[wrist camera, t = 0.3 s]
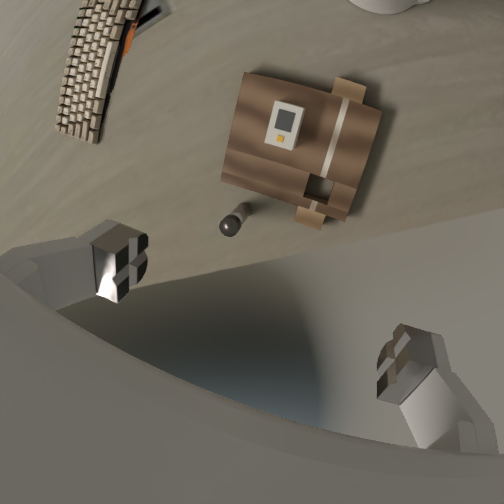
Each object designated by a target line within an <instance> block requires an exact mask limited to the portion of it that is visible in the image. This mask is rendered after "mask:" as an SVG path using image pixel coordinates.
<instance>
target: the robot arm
mask: <svg viewBox="0 0 504 504" xmlns="http://www.w3.org/2000/svg"><path fill="white" fill-rule="evenodd" d="M349 1H351V2H352V3H353V4H355V5H357V6H358V7H360V8H362V9H365V10H367V11H370V12H374V13H378V14H396V13H400V12H403V11H405V10H407V9H408V8H410V7H412V6H413V5H416V4H425V3H428V2H429V1H430V0H349ZM148 238H149V237H148V236H147V234H146V233H144V232H141V231H139V230H136V229H134V228H131V227H129V226H126V225H124V224H121V223H119V222H116V221H113V220H108V219H107V220H105V221H104V222H102V223H100V224H99V225H97V226H96V227H94V228H92V229H91V230H89V231H88V232H86V233H84V234H83V235H81V236H80V237H78V238H75V237H70V238H64V239H58V240H53V241H47V242H41V243H36V244H30V245H25V246H20V247H15V248H12V249H10V250H9V251H7V252H6V253H4V254H3V255H1V256H0V504H504V454H499V451H498V445H497V439H496V434H495V429H494V424H493V422H492V421H491V420H490V418H489V417H488V416H487V414H486V413H485V411H484V410H483V409H482V407H481V406H480V405H479V403H478V402H477V401H476V399H475V398H474V397H473V396H472V394H471V393H470V391H469V390H468V389H467V388H466V386H465V385H464V384H463V383H462V381H461V380H460V379H459V377H458V376H457V375H456V374H455V373H453V372H451V367H450V363H449V360H448V355H447V351H446V347H445V343H444V339H443V337H442V336H441V335H439V334H436V333H432V332H427V331H424V330H420V329H417V328H414V327H411V326H408V325H404V324H399V325H398V326H397V328H396V329H395V330H394V332H393V340H391V341H389V342H387V343H386V344H385V345H384V347H383V348H382V350H381V352H380V355H379V357H378V362H377V372H378V374H379V375H380V379H379V380H378V381H377V399H379V400H383V401H386V402H390V403H394V404H398V405H400V408H401V411H402V413H403V415H404V416H405V419H406V421H407V423H408V425H409V427H410V429H411V432H412V434H413V436H414V438H415V440H416V442H417V445H418V447H419V448H416V447H408V446H402V445H396V444H390V443H384V442H378V441H373V440H368V439H363V438H359V437H354V436H350V435H345V434H341V433H337V432H333V431H329V430H325V429H321V428H317V427H314V426H310V425H306V424H302V423H299V422H296V421H292V420H289V419H286V418H283V417H279V416H276V415H273V414H270V413H267V412H264V411H261V410H258V409H255V408H252V407H249V406H246V405H244V404H241V403H238V402H236V401H233V400H230V399H228V398H225V397H222V396H220V395H217V394H214V393H212V392H210V391H207V390H205V389H202V388H200V387H197V386H195V385H193V384H190V383H188V382H186V381H184V380H181V379H179V378H177V377H175V376H172V375H170V374H168V373H166V372H164V371H162V370H159V369H157V368H155V367H153V366H151V365H149V364H147V363H145V362H143V361H141V360H139V359H137V358H135V357H133V356H131V355H129V354H127V353H125V352H123V351H122V350H120V349H118V348H116V347H114V346H112V345H110V344H109V343H107V342H105V341H103V340H101V339H100V338H98V337H96V336H94V335H93V334H91V333H89V332H88V331H86V330H84V329H82V328H81V327H79V326H77V325H76V324H74V323H73V322H71V321H69V320H68V319H66V318H64V317H63V316H61V315H60V314H58V313H57V312H55V310H58V309H60V308H63V307H65V306H68V305H71V304H74V303H76V302H79V301H81V300H84V299H87V298H89V297H92V296H95V295H97V294H99V295H101V296H103V297H105V298H107V299H109V300H111V301H114V302H116V303H118V302H119V301H120V300H121V299H122V298H123V297H124V296H126V294H128V293H129V286H132V285H136V284H138V283H139V281H140V280H141V279H142V278H143V276H144V274H145V272H146V269H147V265H148V257H147V255H146V253H145V251H144V250H145V249H146V248H147V247H148ZM96 293H97V294H96Z"/></svg>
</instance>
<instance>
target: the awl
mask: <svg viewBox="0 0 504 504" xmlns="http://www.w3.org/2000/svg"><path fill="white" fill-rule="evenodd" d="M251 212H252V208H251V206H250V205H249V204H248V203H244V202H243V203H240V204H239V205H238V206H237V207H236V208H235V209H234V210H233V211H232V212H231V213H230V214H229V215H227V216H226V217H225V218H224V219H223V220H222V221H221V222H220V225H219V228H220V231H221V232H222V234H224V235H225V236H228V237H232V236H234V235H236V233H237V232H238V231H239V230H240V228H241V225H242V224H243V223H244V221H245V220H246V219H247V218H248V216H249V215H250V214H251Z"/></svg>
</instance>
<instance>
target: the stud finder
mask: <svg viewBox="0 0 504 504" xmlns="http://www.w3.org/2000/svg"><path fill="white" fill-rule="evenodd" d="M305 109H306V108H304V107H301V106H297V105H294V104H290V103H286V102H282V101H276V100H275V102H274V106H273V110H272V114H271V118H270V122H269V126H268V130H267V134H266V138H265V142H264V143H267V144H271V145H274V146H278V147H281V148H285V149H288V150H291V151H292V150H293V149H294V148H295V146H296V142H297V138H298V135H299V131H300V127H301V124H302V120H303V117H304V113H305Z"/></svg>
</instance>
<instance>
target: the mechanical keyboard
mask: <svg viewBox="0 0 504 504" xmlns="http://www.w3.org/2000/svg"><path fill="white" fill-rule="evenodd" d="M145 2H146V0H84V1H83V4H82V7H83V8H80V13H79V16H80V17H77V22H76V25H77V26H74V28H75V29H74V32H73V35H74V36H72V37H73V38H72V39H71V43H70V44H71V45H73V47H71V48H69V52H68V54H70V55H71V56H70V57H68V58H67V60H66V64H68V65H70V66H67V67H65V69H64V74H66V75H67V76H64V77H63V80H62V83H63V84H66V85H64V86H62V87H61V90H60V93H62V94H63V95H61V96H60V97H59V103H62V104H61V105H59V106H58V109H57V112H59V113H60V114H58V115H57V118H56V121H57V122H60V123H58V124H56V126H55V131H57V132H61V133H62V134H68V135H69V136H73V137H75V138H77V139H81V140H83V141H86V142H89V143H90V144H96V145H97V144H98V139H99V131H100V127H101V125H102V123H103V120H104V117H105V113H106V110H107V107H108V103H109V99H110V93H111V92H112V89H113V88H114V85H115V81H116V77H117V74H118V70H119V66H120V63H121V60H122V58H123V56H124V55H125V54H126V53H128V50H129V48H130V45H131V43H132V39H133V36H134V33H135V30H136V28H137V24H138V21H139V18H140V15H141V13H142V10H143V7H144V4H145ZM134 26H135V27H134ZM109 89H110V92H109Z"/></svg>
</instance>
